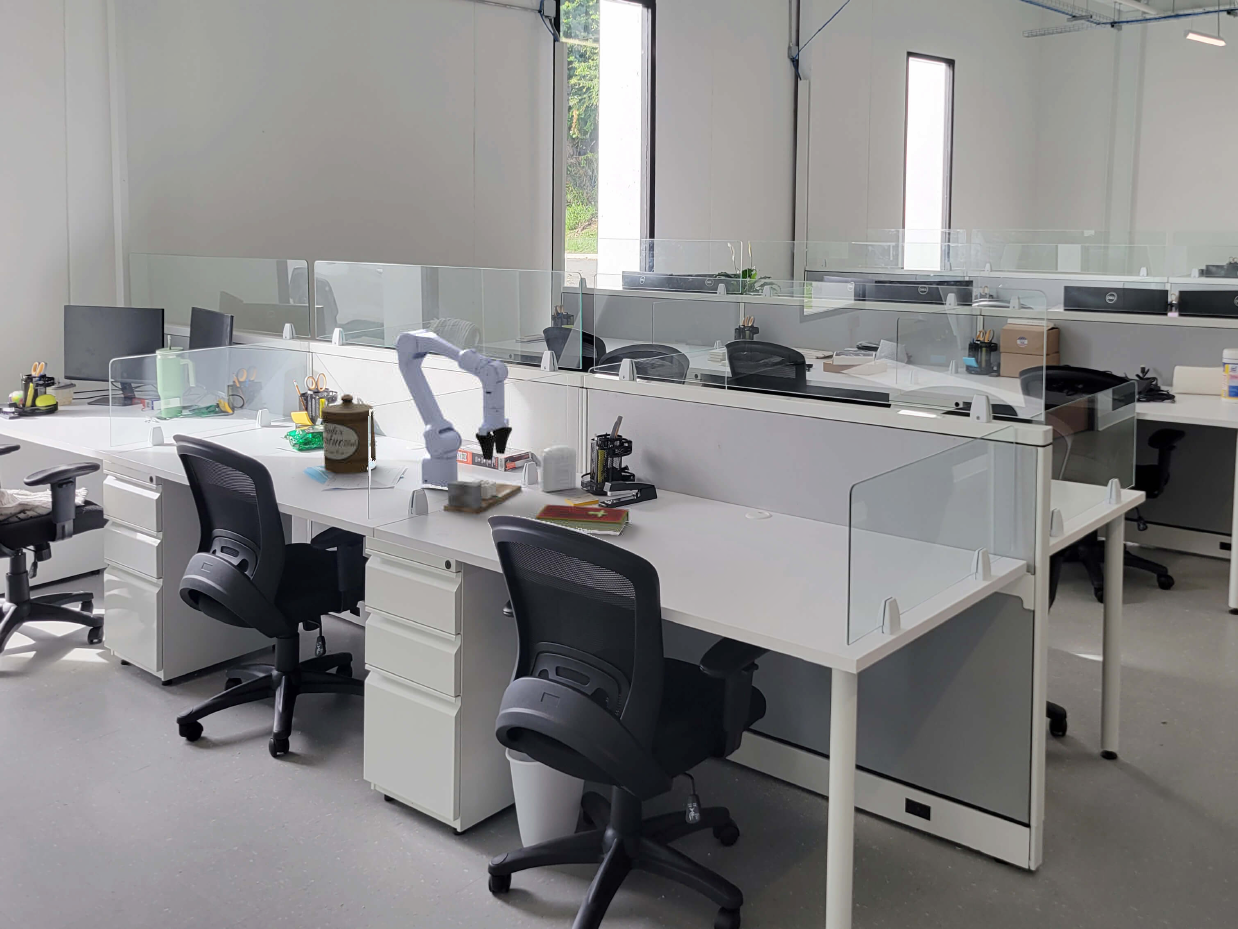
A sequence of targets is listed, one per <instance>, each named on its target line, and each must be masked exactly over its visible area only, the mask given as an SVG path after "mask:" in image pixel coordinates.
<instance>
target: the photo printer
mask: <svg viewBox="0 0 1238 929" xmlns="http://www.w3.org/2000/svg"><path fill="white" fill-rule="evenodd" d="M576 473H577V451H576V449H575V447H572V446H570V445H565V444H558V445H554V446H550V447H548V448H544V449H543V450H542V451H541V453H540V489H541V491H542V492H545V493H547V492H548V493H549V492H554V491H562V490H570V489H575V488H576V487H577V485H576V484H577V483H576V482H577V480H576V479H577V474H576Z"/></svg>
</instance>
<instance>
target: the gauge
mask: <svg viewBox="0 0 1238 929" xmlns="http://www.w3.org/2000/svg"><path fill="white" fill-rule="evenodd" d="M471 482H473V483H481V493H482V499H489V498H491V497H492V496H494V497H498V496H496V483H497V482H496V481H490V480H489V479H485V478H482V479H481V478H479V479H474V480H472V481H471Z"/></svg>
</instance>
